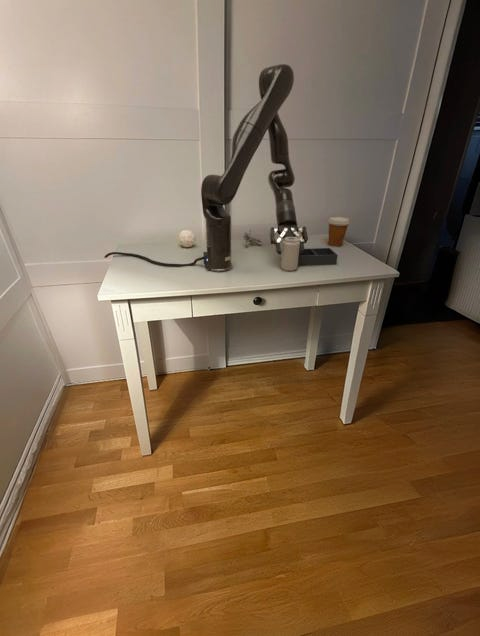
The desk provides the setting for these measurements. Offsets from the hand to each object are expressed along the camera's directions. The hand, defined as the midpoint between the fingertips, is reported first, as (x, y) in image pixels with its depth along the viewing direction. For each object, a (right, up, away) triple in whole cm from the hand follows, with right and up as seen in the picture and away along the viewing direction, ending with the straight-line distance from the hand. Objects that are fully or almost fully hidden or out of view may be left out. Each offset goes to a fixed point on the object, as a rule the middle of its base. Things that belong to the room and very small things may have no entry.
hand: (290, 252), depth 118 cm
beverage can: (0, -6, +4) cm, 7 cm away
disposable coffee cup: (+26, +10, +31) cm, 42 cm away
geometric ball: (-44, +8, +26) cm, 51 cm away
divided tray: (+11, -1, +11) cm, 15 cm away
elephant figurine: (-14, +10, +29) cm, 34 cm away
